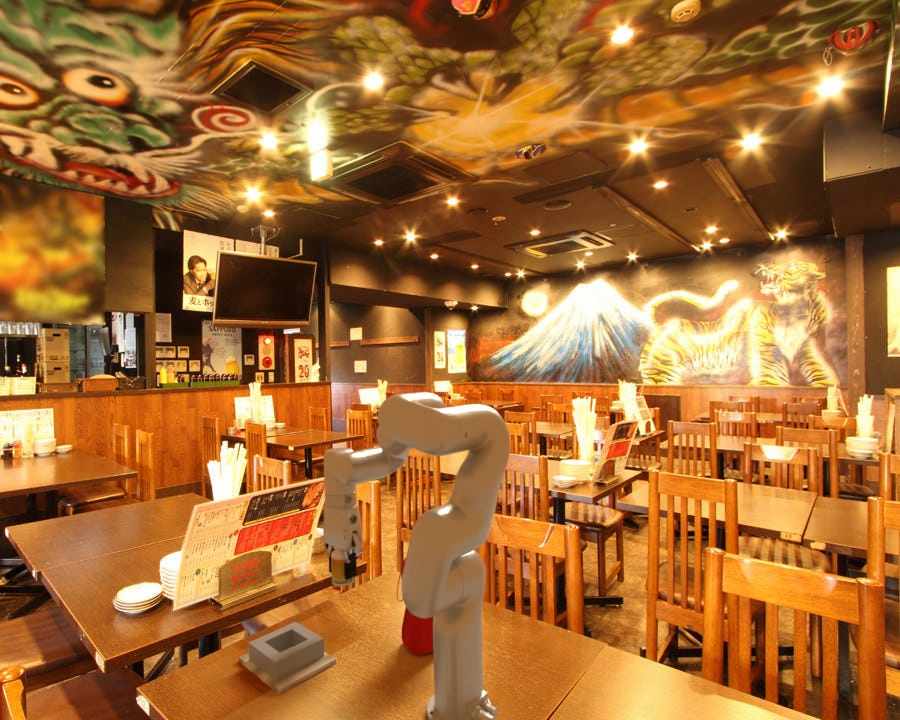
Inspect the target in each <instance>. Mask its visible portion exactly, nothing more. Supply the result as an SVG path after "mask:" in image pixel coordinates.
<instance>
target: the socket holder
mask: <svg viewBox="0 0 900 720" xmlns="http://www.w3.org/2000/svg"><path fill="white" fill-rule="evenodd" d="M291 646H293V647H292V648H290V649H288V650H286V651H283V650H285V649H287V648H289V647H291ZM281 651H283V652H281ZM280 652H281V653H280ZM324 652H325V638H324V637H322V636H320V635H319V634H317V633H315V632H313V631H312V630H310V629H309V628H307V627H305V626H304V625H303V624H300V623H299V622H297V621H293V622H292V623H289V624H287V625H285V626H283V627H280V628H277V629H276V630H274V631H271V632H269V633H267V634H265V635H262V636H260V637H258V638H256V639H254V640H250V641H249V642H248V653H249V660H250V661H251V662H252V663H253V664H255V665H256V666H257V667H258V668H260V669H261V670H262V671H263V672H265V673H266V674H267V675H269V676H270V677H271V678H272V679H274V680H275V681H278V680H280V679H282V678H284V677H285V676H287V675H289V674H291V673H293V672H295V671H297V670H299V669H301V668H303V667H304V666H306V665H308V664H310V663H312V662H314V661H316V660H318V659H320V658H321V657H323V656H324Z"/></svg>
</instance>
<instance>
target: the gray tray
mask: <svg viewBox="0 0 900 720" xmlns="http://www.w3.org/2000/svg"><path fill="white" fill-rule="evenodd" d="M292 647H293V646H291V647H289V648H287V649H285V650H283V651H286V650H288V649H290V648H292ZM283 651H281V652H283ZM281 652H280V653H281ZM336 660H337V659H336V658H335V657H333V656H332V655H331V654H328V652H325V651H324V656H323V657H321V658H320V659H318V660H316V661H314V662H312V663H310V664H308V665H306V666H304V667H303V668H301V669H299V670H297V671H295V672H293V673H291V674H289V675H287V676H285V677H284V678H282V679H280V680H278V681H275V680H274V679H272V678H271V677H270V676H269V675H267V674H266V673H265V672H263V671H262V670H261V669H260V668H258V667H257V666H256V665H255V664H253V663H252V662H251V661H250V660H249V652H247V653H244V654H242V655H239V656H238V662H239V663H240V664H241V665H242V666H244V667H245V668H246V669H247V670H249V671H250V672H251V673H252V674H253V675H255V676H256V677H257V678H258V679H260V680H261V681H262V682H263V683H264V684H266V685H267V686H268V687H269V686H270V687H269V688H270V689H271V690H273V691H274V692H275V693H276V694H278V695H280V694H282V693H284V691H285V692H286V691H288V690H290V689H292V688H294V687H295V686H297V685H299V684H301V683H302V682H304V681H306V680H308V679H310V678H311V677H314V676H316V675H318V674H319V673H321V672H323V671H324V670H327V669H328V668H330V667H332V666H334V665H335V664H336V663H337V661H336Z"/></svg>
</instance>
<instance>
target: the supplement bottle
mask: <svg viewBox="0 0 900 720" xmlns="http://www.w3.org/2000/svg"><path fill="white" fill-rule="evenodd" d="M334 549H335V550H334V551H333V552H332V553H331V572H332V573H331V583H332V585H333V586H335V587H345V586H350V585H351V584H353V583H354V581H355V577H353V578H350V579H348V580H346V579H345V577H344V563H345V562H346V560H345V555H344V550H342V549H339V548H337V547H334ZM351 553H352V550H351V551H349V556H350V555H351Z"/></svg>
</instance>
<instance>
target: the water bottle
mask: <svg viewBox="0 0 900 720" xmlns="http://www.w3.org/2000/svg"><path fill="white" fill-rule="evenodd" d="M405 560H406V557H405V558H404V559H403V560H402V562H401V568H400V574H399V577H398V581H397V588H396V598H397V600H398V602H400V603H401V602H404V600H403V598H402V599H401V600H399V595H398V592H399V586H400V580H402V575H403V570H404V565H405ZM433 617H434V616H433ZM433 617H430V618H419V617H416V616H414V615H413V614H411V613H410V612H409V610H408V609H407V607H406V606H405V608H404V614H403V618H402V624H401V640H402V644H403V646H404V647H405V648H406V650H407V652H409V653H410V654H411V655H412V656H413V655H415V656H420V657H421V656H424V655H427V654H428V655H429V654H430V653H433Z"/></svg>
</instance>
